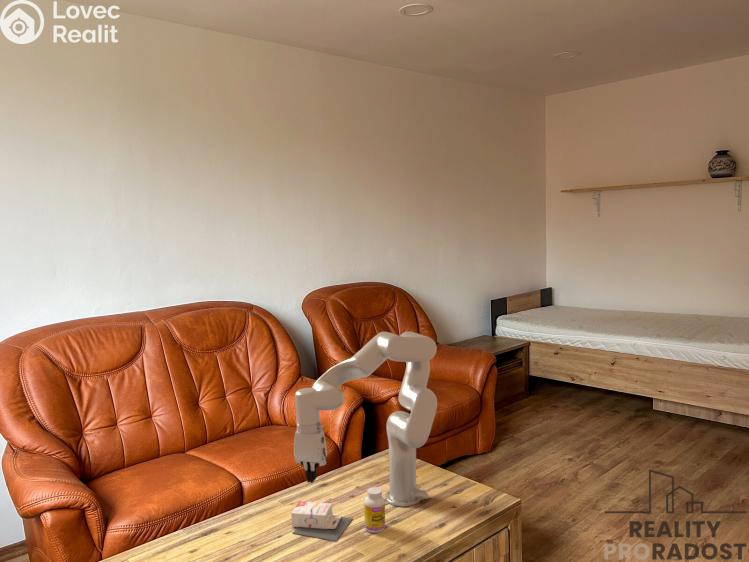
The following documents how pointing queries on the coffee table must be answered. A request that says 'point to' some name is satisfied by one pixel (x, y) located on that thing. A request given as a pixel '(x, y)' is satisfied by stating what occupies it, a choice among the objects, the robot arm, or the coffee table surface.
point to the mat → (325, 530)
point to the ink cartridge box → (314, 515)
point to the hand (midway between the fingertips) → (311, 480)
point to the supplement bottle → (374, 510)
